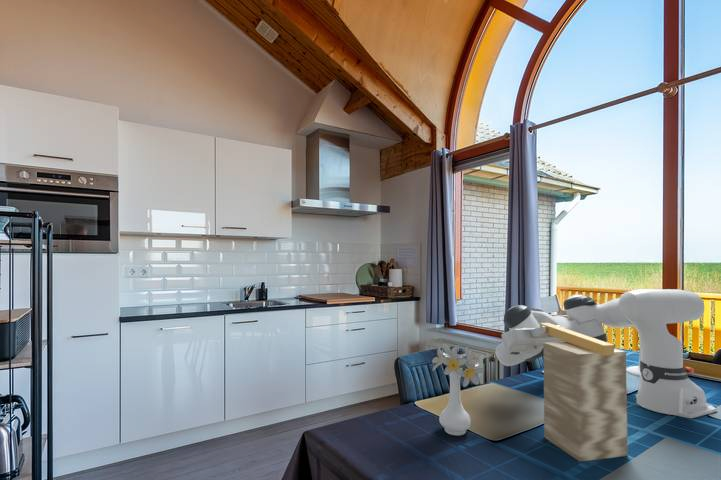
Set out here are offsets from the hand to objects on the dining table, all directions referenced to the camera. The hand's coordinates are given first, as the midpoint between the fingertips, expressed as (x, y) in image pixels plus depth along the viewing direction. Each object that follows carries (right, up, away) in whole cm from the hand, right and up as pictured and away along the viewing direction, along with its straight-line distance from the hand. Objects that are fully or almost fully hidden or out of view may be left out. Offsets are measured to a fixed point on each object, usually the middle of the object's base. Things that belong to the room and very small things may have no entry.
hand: (552, 328), depth 117 cm
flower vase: (-29, -29, -4) cm, 41 cm away
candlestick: (+64, -31, +52) cm, 88 cm away
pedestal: (+2, -28, -12) cm, 31 cm away
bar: (+2, -2, -8) cm, 8 cm away
